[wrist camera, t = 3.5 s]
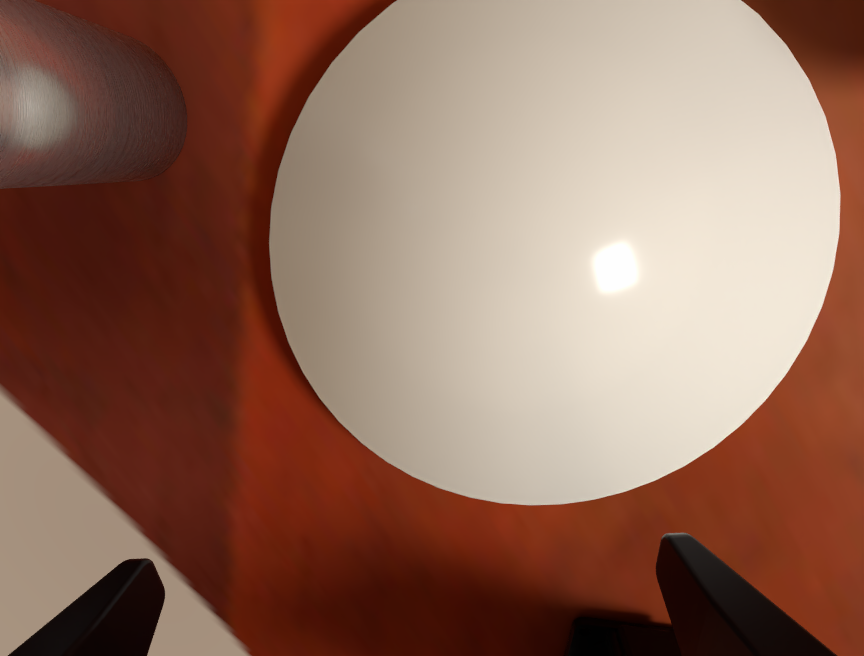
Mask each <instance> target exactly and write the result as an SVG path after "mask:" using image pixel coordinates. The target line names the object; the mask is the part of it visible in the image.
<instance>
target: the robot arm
mask: <svg viewBox="0 0 864 656" xmlns="http://www.w3.org/2000/svg"><path fill="white" fill-rule="evenodd" d="M656 575H657V580H658V583H659V586H660V589H661V592H662V595H663V598H664V602H665V605H666V608H667V611H668V614H669V617H670V620H671V623H672V626H673V629H670V628H663V627H655V626H648V625H640V624H633V623H625V622H618V621H610V620H603V619H595V618H588V617H580V618H577V619H576V620H574V622H573V624H572V628H571V632H570V635H569V639H568V643H567V647H566V650H565V654H564V656H837V655H836V654H835V653H833V652H832V651H831V650H830V649H829V648H827V647H826V646H825V645H824V644H822V643H821V642H820V641H819V640H818V639H816V638H815V637H814V636H813V635H812V634H810V633H809V632H808V631H807V630H805V629H804V628H803V627H802V626H801V625H799V624H798V623H797V622H796V621H795V620H793V619H792V618H791V617H790V616H788V615H787V614H786V613H785V612H784V611H782V610H781V609H780V608H779V607H778V606H776V605H775V604H774V603H773V602H771V601H770V600H769V599H768V598H767V597H765V596H764V595H763V594H762V593H761V592H759V591H758V590H757V589H756V588H754V587H753V586H752V585H751V584H750V583H748V582H747V581H746V580H745V579H744V578H742V577H741V576H740V575H739V574H737V573H736V572H735V571H734V570H733V569H731V568H730V567H729V566H728V565H727V564H725V563H724V562H723V561H722V560H720V559H719V558H718V557H717V556H716V555H714V554H713V553H712V552H711V551H710V550H708V549H707V548H706V547H705V546H703V545H702V544H701V543H700V542H699V541H697V540H696V539H695V538H694V537H692V536H691V535H689V534H687V533H670V534H665V535H663V537H662V539H661V542H660V547H659V552H658V557H657V562H656ZM164 599H165V590H164V586H163V584H162V581H161V579H160V577H159V575H158V572H157V570H156V568H155V566H154V564H153V562H152V561H151V560H150V559H129V560H126V561H124V562H122V563H121V564H119V565H118V566H117V567H115V568H114V569H113V570H112V571H111V572H109V573H108V574H107V575H106V576H104V577H103V578H102V579H101V580H100V581H98V582H97V583H96V584H95V585H93V586H92V587H91V588H90V589H89V590H87V591H86V592H85V593H84V594H82V595H81V596H80V597H79V598H78V599H76V600H75V601H74V602H73V603H71V604H70V605H69V606H68V607H67V608H65V609H64V610H63V611H62V612H61V613H59V614H58V615H57V616H56V617H54V618H53V619H52V620H51V621H50V622H49V623H47V624H46V625H45V626H43V627H42V628H41V629H40V630H39V631H37V632H36V633H35V634H34V635H32V636H31V637H30V638H29V639H28V640H26V641H25V642H24V643H23V644H22V645H20V646H19V647H18V648H17V649H16V650H14V651H13V652H12V653H11V654H9V655H8V656H147V654H148V650H149V647H150V644H151V641H152V638H153V635H154V632H155V629H156V626H157V623H158V620H159V617H160V613H161V610H162V607H163V603H164ZM583 628H585V629H583Z"/></svg>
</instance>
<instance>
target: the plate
mask: <svg viewBox="0 0 864 656" xmlns="http://www.w3.org/2000/svg"><path fill="white" fill-rule="evenodd" d="M839 221H840V188H839V179H838V170H837V162H836V154H835V151H834V147H833V143H832V139H831V136H830V132H829V128H828V125H827V121H826V117H825V115H824V112H823V110H822V108H821V106H820V103H819V101H818V99H817V97H816V94H815V92H814V90H813V88H812V85H811V83H810V81H809V79H808V77H807V76H806V74H805V73H804V71H803V70H802V68H801V67H800V65H799V64H798V62H797V60H796V59H795V57H794V56H793V54H792V53H791V51H790V50H789V48H788V47H787V45H786V44H785V43H784V42H783V41H782V40H781V38H780V37H779V36H778V35H777V34H776V33H775V32H774V31H773V30H772V29H771V28H770V26H769V25H768V24H767V23H766V22H765V21H764V20H763V19H762V18H761V17H760V15H759V14H758V13H756V12H755V11H754V10H753V9H751V8H750V7H749V6H747V5H746V4H745V3H744V2H742V1H741V0H397V1H395V2H394V3H392V4H391V5H390V6H389V7H388V8H386V9H385V10H384V11H383V12H382V13H381V14H379V15H378V16H377V17H376V18H375V19H374V20H372V21H371V22H370V23H369V24H368V25H367V26H365V27H364V28H363V29H362V30H361V31H360V32H359V33H358V34H357V35H356V36H355V37H354V38H353V39H352V41H351V42H350V43H349V44H348V45H347V46H346V47H345V48H344V50H343V51H342V52H341V53H340V54H339V55H338V56H337V57H336V59H335V60H334V61H333V62H332V63H331V65H330V66H329V68H328V69H327V70H326V72H325V73H324V75H323V76H322V78H321V79H320V81H319V82H318V84H317V85H316V87H315V88H314V90H313V91H312V93H311V94H310V96H309V97H308V99H307V101H306V103H305V105H304V108H303V110H302V112H301V114H300V116H299V118H298V120H297V122H296V124H295V126H294V128H293V130H292V132H291V134H290V137H289V140H288V143H287V146H286V149H285V152H284V155H283V158H282V161H281V164H280V167H279V170H278V175H277V180H276V185H275V191H274V196H273V201H272V206H271V220H270V236H269V249H270V264H271V278H272V283H273V288H274V293H275V298H276V303H277V309H278V313H279V316H280V319H281V322H282V325H283V328H284V331H285V334H286V337H287V340H288V343H289V345H290V347H291V349H292V351H293V353H294V355H295V357H296V359H297V361H298V363H299V365H300V368H301V370H302V372H303V373H304V375H305V376H306V378H307V379H308V381H309V383H310V384H311V386H312V387H313V389H314V390H315V392H316V393H317V395H318V397H319V398H320V399H321V401H322V402H323V403H324V404H325V405H326V407H327V408H328V409H329V410H330V411H331V413H332V414H333V415H334V416H335V417H336V419H337V420H338V421H339V422H340V423H341V424H342V425H343V426H344V427H345V428H346V429H347V430H348V431H349V432H350V433H352V434H353V435H354V436H355V437H356V438H357V439H358V440H359V441H360V442H361V443H362V444H364V445H365V446H366V447H368V448H369V449H370V450H372V451H373V452H374V453H376V454H377V455H378V456H380V457H381V458H382V459H384V460H385V461H387V462H388V463H390V464H392V465H394V466H395V467H397V468H399V469H400V470H402V471H404V472H406V473H407V474H409V475H411V476H413V477H415V478H417V479H420V480H422V481H424V482H427V483H429V484H431V485H434V486H436V487H438V488H441V489H444V490H447V491H450V492H454V493H457V494H460V495H464V496H467V497H471V498H476V499H481V500H487V501H492V502H498V503H508V504H521V505H551V504H566V503H573V502H580V501H587V500H594V499H598V498H602V497H606V496H610V495H614V494H618V493H622V492H625V491H628V490H631V489H633V488H636V487H639V486H641V485H644V484H647V483H650V482H652V481H655V480H657V479H659V478H661V477H663V476H665V475H667V474H669V473H671V472H673V471H675V470H677V469H679V468H681V467H683V466H685V465H687V464H688V463H690V462H691V461H693V460H695V459H696V458H698V457H699V456H701V455H702V454H704V453H705V452H707V451H709V450H710V449H712V448H713V447H715V446H716V445H717V444H718V443H719V442H721V441H722V440H723V439H724V438H726V437H727V436H728V435H729V434H731V433H732V432H733V431H734V430H736V429H737V428H738V427H739V426H741V425H742V424H743V422H744V421H745V420H746V419H747V418H748V417H749V416H750V415H751V414H752V413H753V412H754V411H755V410H756V409H757V408H758V407H759V406H760V405H761V404H762V403H763V402H764V401H765V400H766V399H767V398H768V396H769V395H770V394H771V393H772V391H773V390H774V389H775V387H776V386H777V385H778V384H779V382H780V381H781V380H782V379H783V377H784V376H785V375H786V373H787V372H788V370H789V369H790V367H791V366H792V364H793V362H794V361H795V359H796V357H797V356H798V354H799V352H800V351H801V349H802V347H803V346H804V344H805V343H806V341H807V339H808V336H809V334H810V332H811V330H812V328H813V325H814V323H815V321H816V319H817V317H818V314H819V312H820V310H821V308H822V305H823V301H824V298H825V295H826V292H827V288H828V285H829V282H830V279H831V275H832V272H833V267H834V261H835V255H836V249H837V243H838V237H839Z"/></svg>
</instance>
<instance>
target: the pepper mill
mask: <svg viewBox="0 0 864 656" xmlns="http://www.w3.org/2000/svg"><path fill="white" fill-rule="evenodd" d="M186 130H187V113H186V106H185V101H184V97H183V94H182V92H181V89H180V86H179V84H178V82H177V80H176V78H175V76H174V75H173V73H172V72H171V70H170V69H169V67H168V66H167V65H166V63H165V62H164V61H163V60H162V59H161V58H160V57H159V56H158V55H157V54H156V53H155V52H154V51H153V50H152V49H150V48H149V47H148V46H146V45H145V44H143V43H142V42H140V41H138V40H136V39H134V38H132V37H129V36H127V35H124V34H121V33H119V32H116V31H113V30H111V29H108V28H106V27H103V26H100V25H98V24H95V23H92V22H90V21H87V20H84V19H82V18H79V17H77V16H74V15H71V14H69V13H66V12H63V11H61V10H58V9H55V8H53V7H50V6H47V5H45V4H42V3H40V2H37V1H34V0H0V189H3V188H21V187H39V186H57V185H75V184H93V183H111V182H130V181H142V180H147V179H151V178H153V177H155V176H158V175H159V174H161V173H163V172H164V171H165V170H167V169H168V168H169V167H170V166H171V165H172V164H173V162H174V161H175V160H176V159H177V157H178V155H179V154H180V152H181V149H182V147H183V144H184V141H185V137H186Z"/></svg>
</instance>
